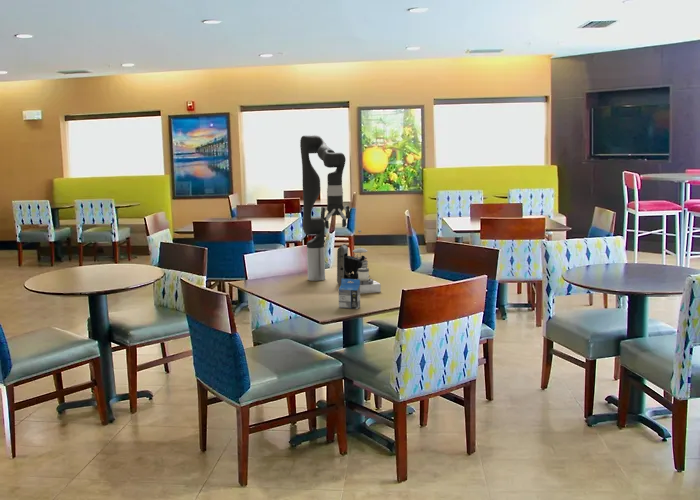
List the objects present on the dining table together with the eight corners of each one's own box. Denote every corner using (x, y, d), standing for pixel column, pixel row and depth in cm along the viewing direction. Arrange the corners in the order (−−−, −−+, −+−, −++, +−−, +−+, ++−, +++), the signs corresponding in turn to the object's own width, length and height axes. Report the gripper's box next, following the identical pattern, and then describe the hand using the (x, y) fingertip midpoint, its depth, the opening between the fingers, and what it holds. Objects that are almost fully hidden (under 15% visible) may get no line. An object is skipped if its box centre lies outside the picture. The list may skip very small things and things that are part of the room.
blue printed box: (338, 308, 307) (337, 280, 305) (341, 306, 310) (340, 278, 309) (357, 309, 304) (357, 281, 302) (360, 307, 307) (360, 279, 305)
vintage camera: (366, 286, 355) (367, 247, 352) (336, 285, 358) (336, 246, 355) (369, 283, 364) (370, 245, 361) (340, 281, 367) (341, 243, 364)
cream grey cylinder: (357, 284, 338) (356, 269, 337) (359, 282, 343) (359, 267, 342) (367, 284, 337) (367, 269, 336) (370, 282, 342) (369, 268, 341)
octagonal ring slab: (344, 291, 343) (344, 279, 342) (374, 288, 347) (374, 277, 346) (349, 294, 334) (349, 283, 334) (380, 292, 338) (380, 280, 338)
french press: (373, 275, 384) (372, 229, 380) (362, 278, 374) (361, 231, 371) (357, 273, 389) (356, 228, 386) (346, 277, 379) (345, 230, 376)
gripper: (345, 193, 347) (346, 226, 350) (318, 194, 342) (319, 227, 345) (351, 194, 340) (351, 227, 343) (323, 195, 335) (324, 229, 338)
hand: (335, 227), depth 344 cm, fingers open, 8 cm apart
